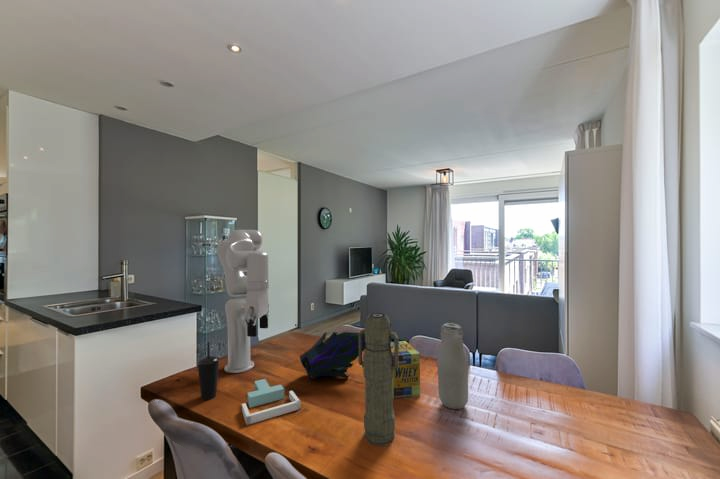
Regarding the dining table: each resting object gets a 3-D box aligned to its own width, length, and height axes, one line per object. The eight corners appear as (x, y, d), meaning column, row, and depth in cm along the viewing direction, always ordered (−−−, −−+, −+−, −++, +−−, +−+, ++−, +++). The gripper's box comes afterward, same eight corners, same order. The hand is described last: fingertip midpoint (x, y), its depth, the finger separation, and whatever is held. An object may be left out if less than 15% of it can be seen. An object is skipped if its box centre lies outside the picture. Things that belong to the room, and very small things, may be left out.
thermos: (399, 448, 83) (396, 319, 83) (356, 443, 85) (354, 317, 85) (401, 428, 91) (399, 312, 92) (362, 424, 94) (361, 310, 94)
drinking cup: (210, 403, 108) (210, 346, 108) (192, 401, 109) (191, 345, 110) (224, 392, 115) (224, 339, 116) (206, 390, 117) (206, 338, 117)
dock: (241, 411, 102) (241, 403, 102) (292, 397, 111) (292, 390, 111) (246, 425, 94) (246, 417, 94) (300, 408, 103) (300, 401, 103)
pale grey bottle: (468, 401, 107) (466, 320, 107) (468, 417, 97) (467, 328, 97) (439, 396, 110) (437, 319, 110) (436, 411, 100) (435, 326, 100)
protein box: (393, 399, 108) (392, 355, 109) (381, 380, 124) (381, 342, 124) (421, 396, 111) (420, 353, 111) (406, 377, 126) (405, 340, 126)
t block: (243, 393, 115) (243, 383, 115) (275, 385, 121) (275, 376, 121) (249, 407, 104) (249, 397, 104) (284, 398, 110) (284, 388, 110)
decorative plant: (309, 394, 131) (368, 363, 144) (319, 397, 109) (389, 360, 121) (292, 348, 137) (351, 322, 149) (299, 341, 115) (367, 311, 127)
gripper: (258, 282, 121) (258, 325, 121) (235, 289, 104) (236, 339, 104) (276, 282, 120) (277, 325, 120) (257, 289, 103) (257, 340, 103)
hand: (258, 332), depth 112 cm, fingers open, 9 cm apart
